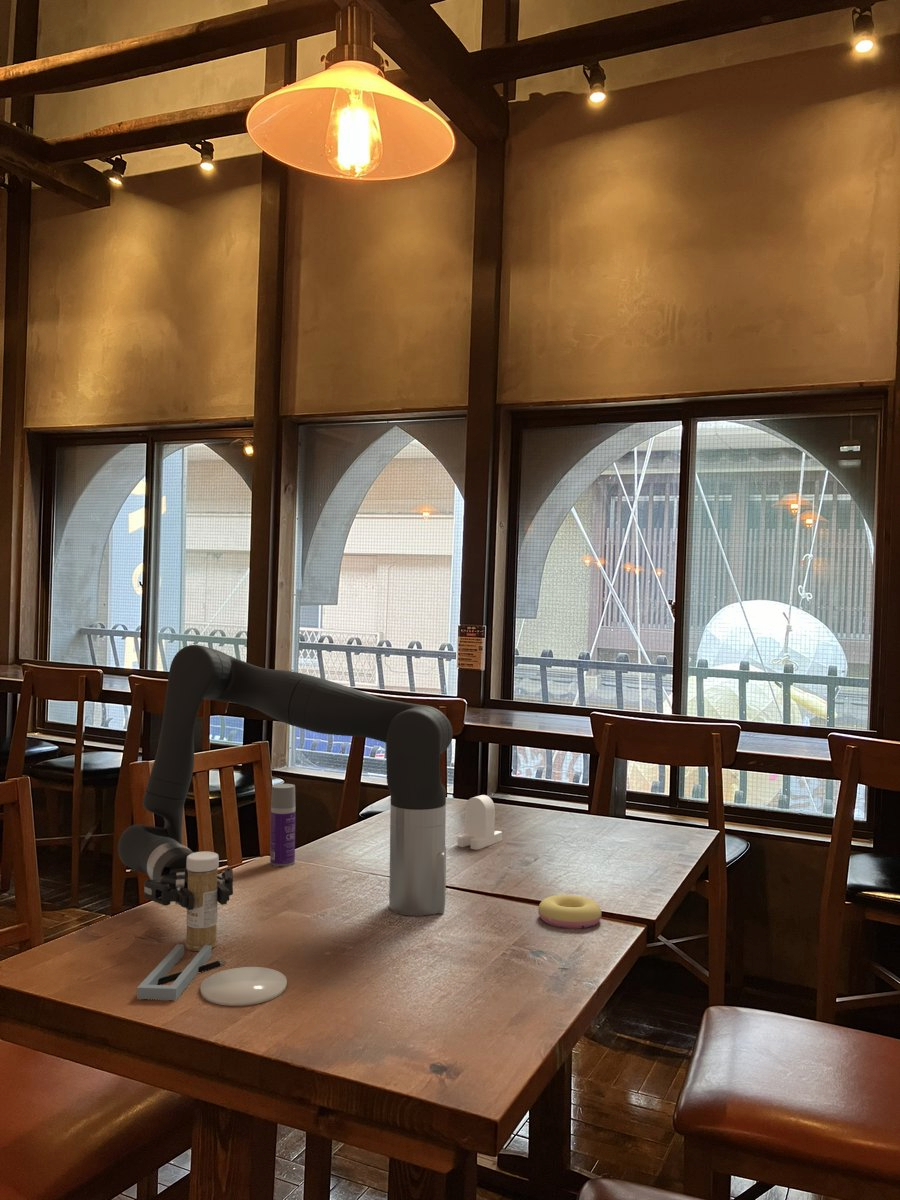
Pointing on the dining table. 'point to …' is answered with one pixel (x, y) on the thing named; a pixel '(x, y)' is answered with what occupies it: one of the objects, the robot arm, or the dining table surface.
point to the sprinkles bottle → (202, 899)
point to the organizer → (479, 824)
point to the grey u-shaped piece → (168, 992)
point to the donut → (569, 911)
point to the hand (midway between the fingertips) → (208, 900)
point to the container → (282, 825)
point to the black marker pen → (175, 976)
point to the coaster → (243, 986)
